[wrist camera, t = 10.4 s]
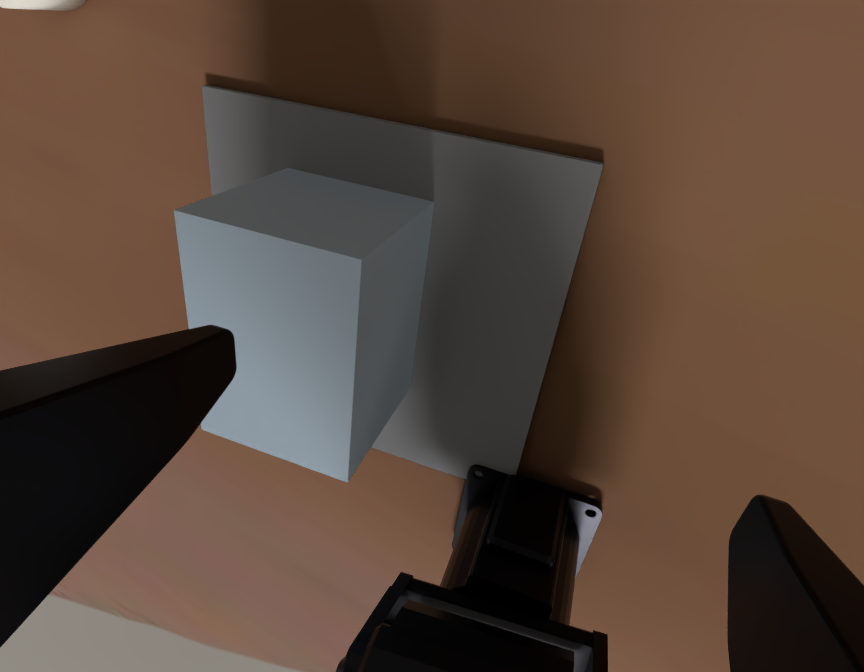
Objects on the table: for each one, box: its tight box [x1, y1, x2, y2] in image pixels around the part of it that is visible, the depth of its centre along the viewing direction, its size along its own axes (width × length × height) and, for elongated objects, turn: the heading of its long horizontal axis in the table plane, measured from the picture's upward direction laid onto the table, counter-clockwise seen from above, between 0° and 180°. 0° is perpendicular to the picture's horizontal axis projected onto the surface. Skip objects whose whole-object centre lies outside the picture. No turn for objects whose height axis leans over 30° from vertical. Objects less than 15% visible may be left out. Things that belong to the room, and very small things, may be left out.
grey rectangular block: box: [174, 168, 434, 483], centre depth 21 cm, size 9×6×6 cm
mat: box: [202, 85, 604, 480], centre depth 24 cm, size 16×16×1 cm
